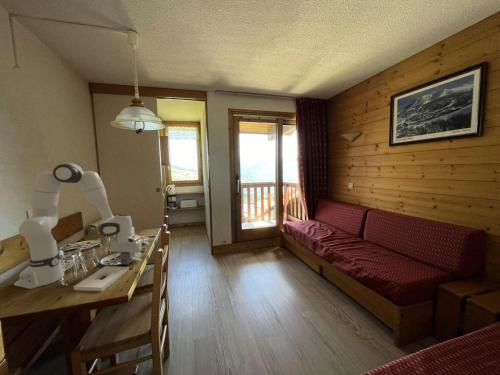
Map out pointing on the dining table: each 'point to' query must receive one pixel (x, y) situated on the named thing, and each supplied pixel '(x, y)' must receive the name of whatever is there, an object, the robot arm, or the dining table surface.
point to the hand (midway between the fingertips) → (127, 257)
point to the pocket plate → (99, 285)
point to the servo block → (126, 258)
